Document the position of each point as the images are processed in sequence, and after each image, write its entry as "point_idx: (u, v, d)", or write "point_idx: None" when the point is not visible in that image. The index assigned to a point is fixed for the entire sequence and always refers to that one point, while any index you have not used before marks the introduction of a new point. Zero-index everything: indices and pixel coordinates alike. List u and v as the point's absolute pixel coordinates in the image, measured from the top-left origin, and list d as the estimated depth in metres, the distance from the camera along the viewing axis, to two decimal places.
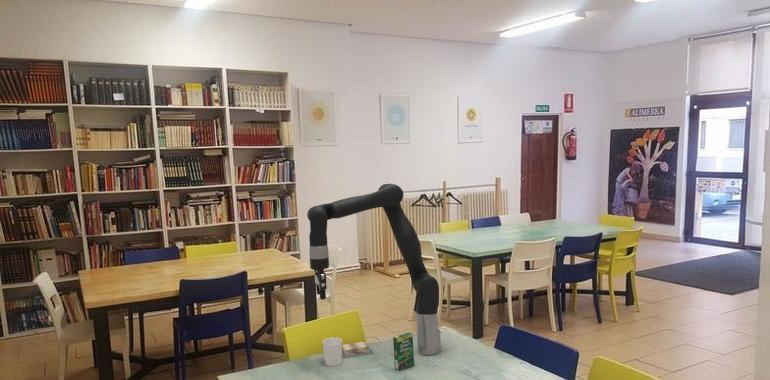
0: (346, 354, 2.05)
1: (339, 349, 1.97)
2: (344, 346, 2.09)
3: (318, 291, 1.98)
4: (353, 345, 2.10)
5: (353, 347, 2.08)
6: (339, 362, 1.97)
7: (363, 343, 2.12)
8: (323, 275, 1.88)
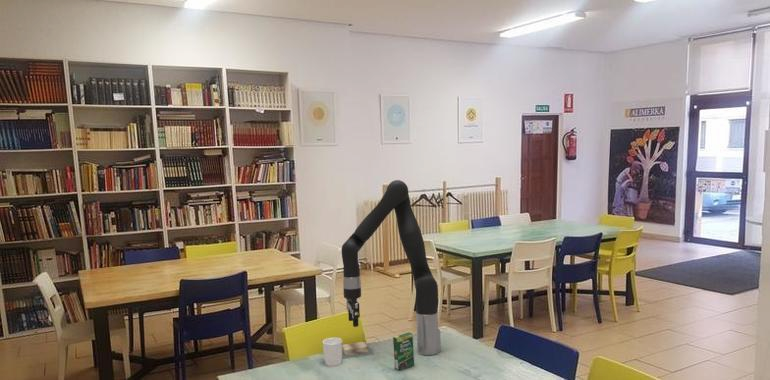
0: (346, 354, 2.05)
1: (339, 349, 1.97)
2: (344, 346, 2.09)
3: (350, 318, 2.13)
4: (353, 345, 2.10)
5: (353, 347, 2.08)
6: (339, 362, 1.97)
7: (363, 343, 2.12)
8: (357, 304, 2.02)
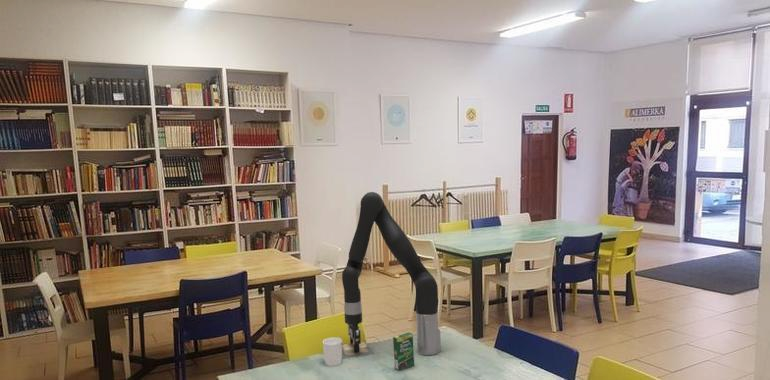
0: (346, 354, 2.05)
1: (339, 349, 1.97)
2: (344, 346, 2.09)
3: None
4: (353, 345, 2.10)
5: (353, 347, 2.08)
6: (339, 362, 1.97)
7: (363, 343, 2.12)
8: (358, 332, 2.03)
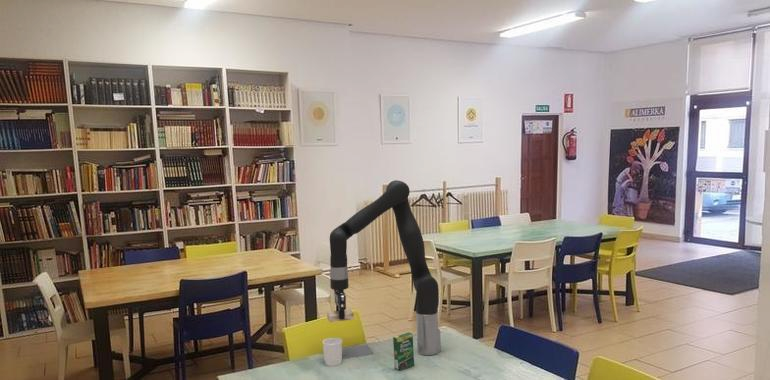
0: (331, 320, 1.99)
1: (339, 349, 1.97)
2: (329, 313, 2.03)
3: None
4: None
5: (338, 314, 2.02)
6: (339, 362, 1.97)
7: (349, 310, 2.06)
8: (343, 297, 1.97)
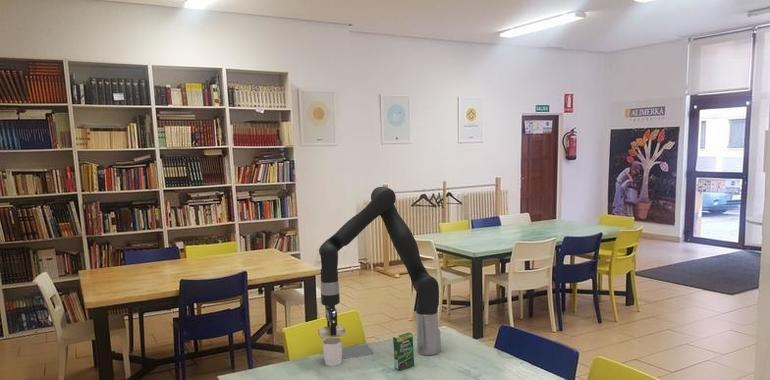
0: (322, 337, 1.94)
1: (339, 349, 1.97)
2: (320, 329, 1.98)
3: None
4: None
5: (329, 330, 1.96)
6: (339, 362, 1.97)
7: (341, 326, 2.01)
8: (334, 313, 1.92)
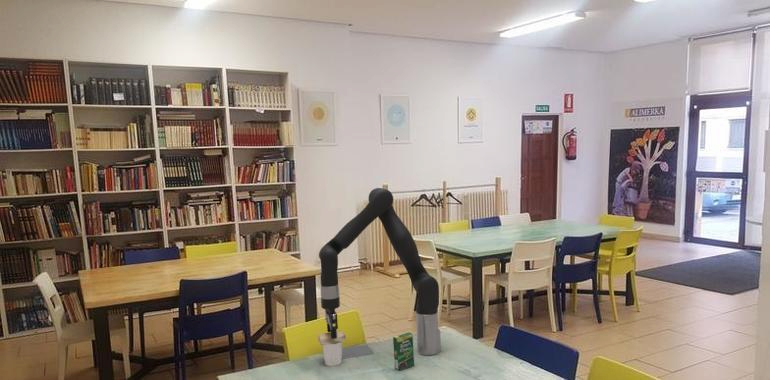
0: (322, 343, 1.94)
1: (339, 349, 1.97)
2: (320, 335, 1.98)
3: (329, 329, 2.02)
4: (330, 334, 1.99)
5: (330, 336, 1.97)
6: (339, 362, 1.97)
7: (341, 332, 2.01)
8: (334, 315, 1.92)
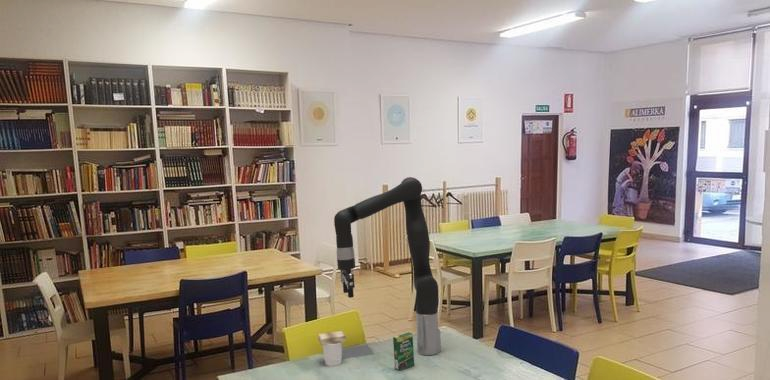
0: (322, 343, 1.94)
1: (339, 349, 1.97)
2: (320, 335, 1.98)
3: (345, 290, 2.11)
4: (330, 334, 1.99)
5: (330, 336, 1.97)
6: (339, 362, 1.97)
7: (341, 332, 2.01)
8: (351, 275, 2.00)
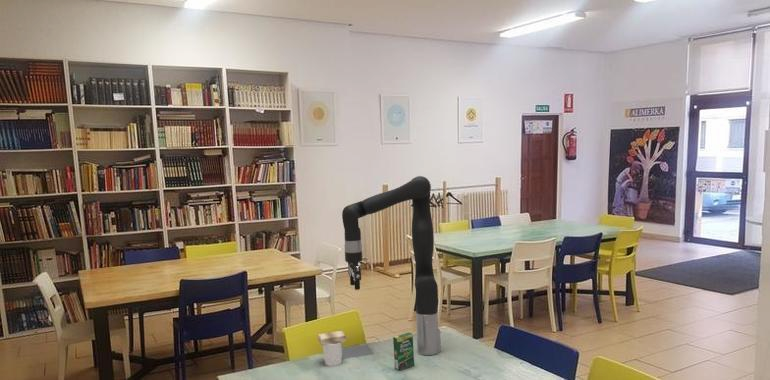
0: (322, 343, 1.94)
1: (339, 349, 1.97)
2: (320, 335, 1.98)
3: (352, 282, 2.16)
4: (330, 334, 1.99)
5: (330, 336, 1.97)
6: (339, 362, 1.97)
7: (341, 332, 2.01)
8: (358, 267, 2.05)
